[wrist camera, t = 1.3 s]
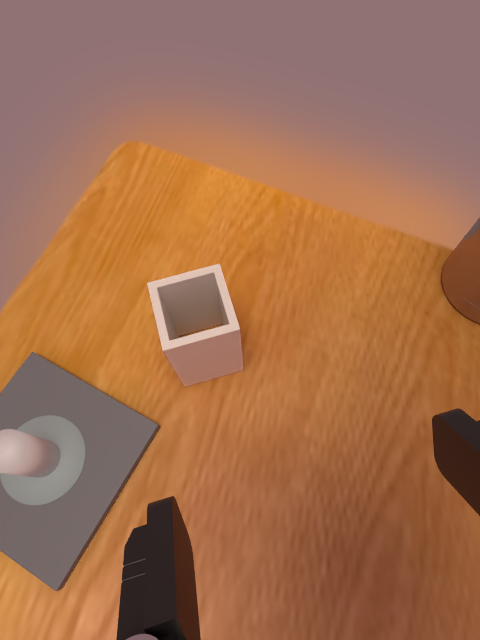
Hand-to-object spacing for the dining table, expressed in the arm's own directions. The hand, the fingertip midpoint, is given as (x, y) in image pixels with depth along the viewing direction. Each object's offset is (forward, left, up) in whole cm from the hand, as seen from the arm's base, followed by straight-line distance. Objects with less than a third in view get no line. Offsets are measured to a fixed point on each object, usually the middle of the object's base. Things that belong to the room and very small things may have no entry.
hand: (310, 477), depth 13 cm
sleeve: (-8, -11, -25) cm, 28 cm away
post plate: (+7, -18, -25) cm, 31 cm away
